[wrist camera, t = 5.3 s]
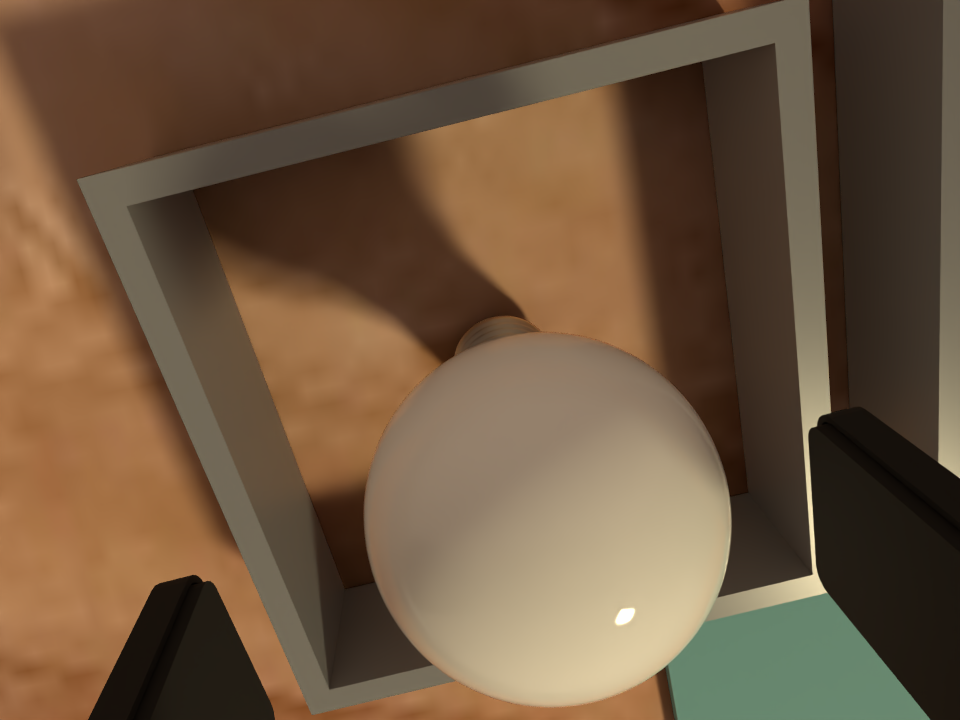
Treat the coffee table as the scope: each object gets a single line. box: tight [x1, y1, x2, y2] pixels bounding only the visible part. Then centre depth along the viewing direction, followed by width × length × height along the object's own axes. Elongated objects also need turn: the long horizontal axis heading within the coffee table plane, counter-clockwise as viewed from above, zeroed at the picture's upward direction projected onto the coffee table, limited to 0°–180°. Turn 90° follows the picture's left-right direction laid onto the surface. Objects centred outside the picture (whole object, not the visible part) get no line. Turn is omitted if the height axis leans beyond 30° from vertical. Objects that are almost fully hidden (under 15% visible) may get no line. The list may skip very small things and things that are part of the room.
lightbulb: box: [364, 316, 732, 708], centre depth 15 cm, size 6×6×11 cm
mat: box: [665, 593, 930, 720], centre depth 25 cm, size 12×10×1 cm
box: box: [77, 0, 831, 715], centre depth 18 cm, size 14×14×4 cm
